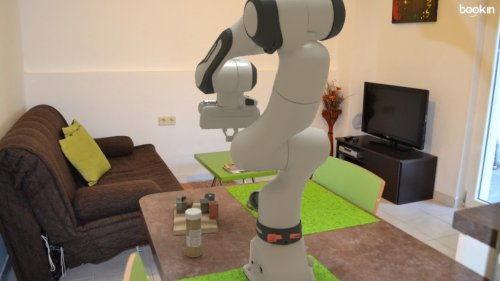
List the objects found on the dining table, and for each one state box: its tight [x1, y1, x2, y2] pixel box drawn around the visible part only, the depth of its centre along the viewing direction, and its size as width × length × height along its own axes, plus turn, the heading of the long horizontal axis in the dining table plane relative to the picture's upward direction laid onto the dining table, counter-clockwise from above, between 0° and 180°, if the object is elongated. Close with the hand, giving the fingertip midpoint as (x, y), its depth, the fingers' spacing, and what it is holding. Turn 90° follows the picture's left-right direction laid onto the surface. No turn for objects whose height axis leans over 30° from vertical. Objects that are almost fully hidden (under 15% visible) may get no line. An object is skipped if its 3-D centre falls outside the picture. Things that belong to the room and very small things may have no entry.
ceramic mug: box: [246, 188, 261, 212], centre depth 149 cm, size 11×8×8 cm
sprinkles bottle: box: [185, 208, 203, 258], centre depth 113 cm, size 5×5×14 cm
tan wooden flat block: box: [173, 195, 219, 236], centre depth 138 cm, size 23×15×6 cm, turn 10°
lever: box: [199, 192, 219, 219], centre depth 141 cm, size 16×6×5 cm, turn 11°
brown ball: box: [183, 197, 194, 208], centre depth 142 cm, size 4×4×4 cm
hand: (230, 141), depth 133 cm, fingers closed
